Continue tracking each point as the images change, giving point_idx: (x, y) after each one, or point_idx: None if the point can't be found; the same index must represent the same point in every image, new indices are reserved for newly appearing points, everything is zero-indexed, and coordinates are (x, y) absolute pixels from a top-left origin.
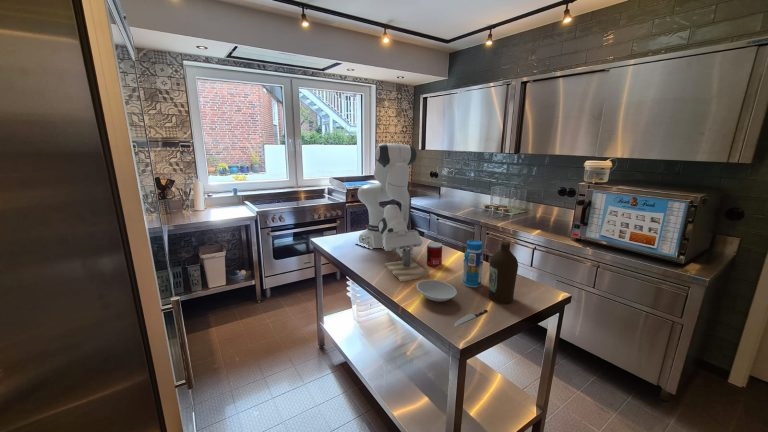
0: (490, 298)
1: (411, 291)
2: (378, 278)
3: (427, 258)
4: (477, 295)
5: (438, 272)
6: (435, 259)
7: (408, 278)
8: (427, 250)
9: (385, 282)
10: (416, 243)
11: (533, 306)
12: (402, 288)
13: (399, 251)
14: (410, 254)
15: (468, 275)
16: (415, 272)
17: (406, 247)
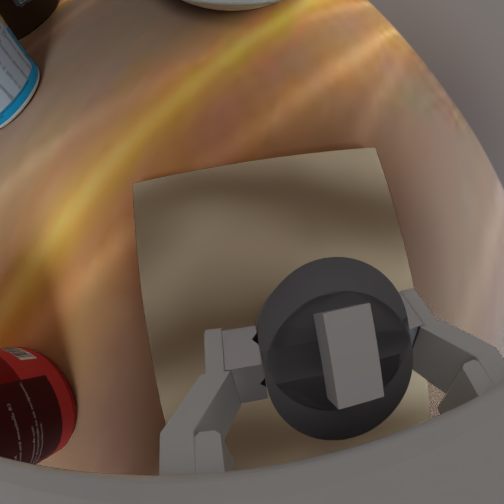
0: (55, 3)
1: (321, 53)
2: (487, 244)
3: (49, 418)
4: (64, 22)
5: (54, 248)
6: (1, 352)
7: (315, 157)
8: (3, 442)
9: (453, 179)
10: (59, 481)
11: None
12: (365, 88)
13: (459, 331)
14: (264, 303)
15: (15, 38)
16: (233, 226)
17: (346, 398)
